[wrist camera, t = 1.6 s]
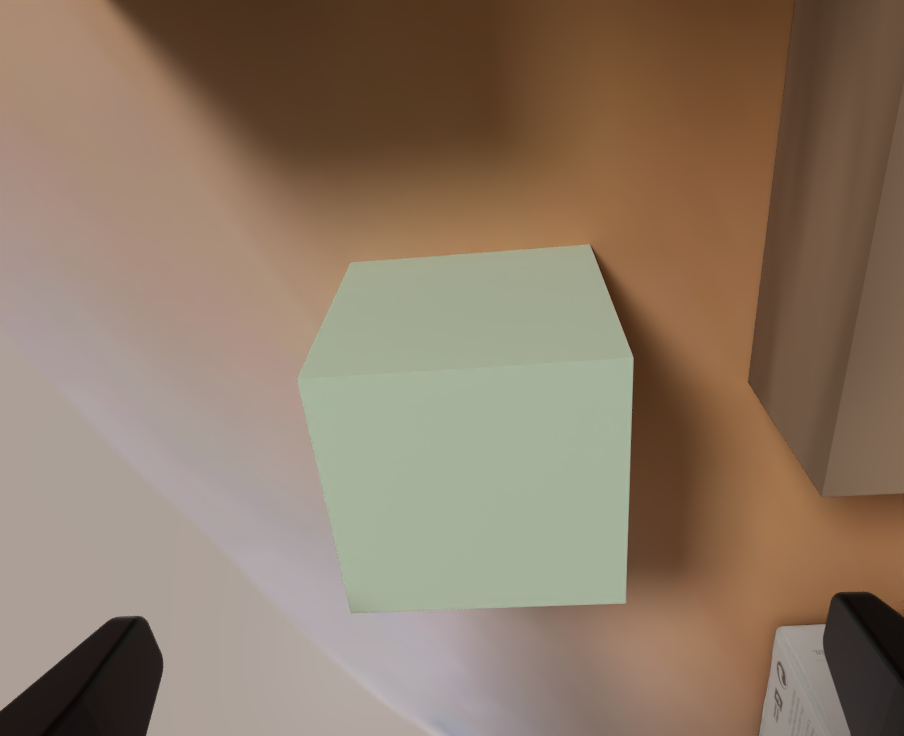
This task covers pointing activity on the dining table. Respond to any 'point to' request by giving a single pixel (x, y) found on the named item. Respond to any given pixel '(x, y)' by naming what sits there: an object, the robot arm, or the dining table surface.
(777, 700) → the skincare box
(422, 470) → the sage block
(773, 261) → the walnut slab
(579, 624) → the dining table surface
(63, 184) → the dining table surface
